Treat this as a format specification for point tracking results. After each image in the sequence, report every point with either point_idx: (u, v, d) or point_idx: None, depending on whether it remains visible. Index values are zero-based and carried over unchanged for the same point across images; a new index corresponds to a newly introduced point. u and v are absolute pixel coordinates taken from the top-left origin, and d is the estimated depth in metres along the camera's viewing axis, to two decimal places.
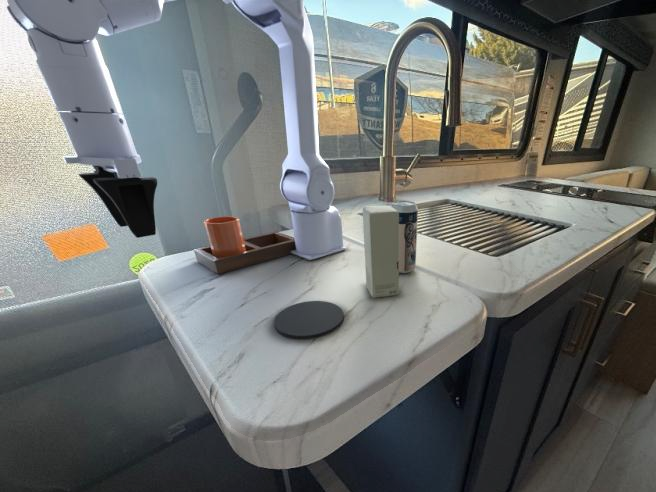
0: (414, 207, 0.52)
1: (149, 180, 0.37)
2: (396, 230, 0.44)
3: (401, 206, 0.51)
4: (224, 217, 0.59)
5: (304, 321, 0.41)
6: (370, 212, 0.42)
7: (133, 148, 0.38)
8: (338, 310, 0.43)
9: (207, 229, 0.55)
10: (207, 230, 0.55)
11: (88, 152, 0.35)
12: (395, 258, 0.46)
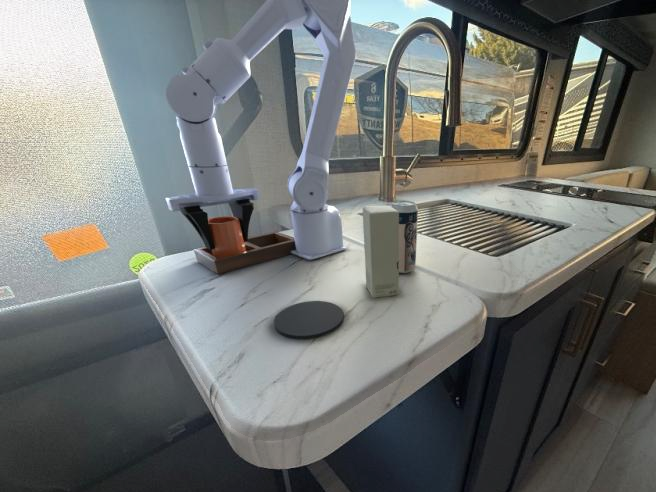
0: (414, 207, 0.52)
1: (189, 214, 0.51)
2: (396, 230, 0.44)
3: (401, 206, 0.51)
4: (224, 217, 0.59)
5: (304, 321, 0.41)
6: (370, 212, 0.42)
7: (210, 190, 0.51)
8: (338, 310, 0.43)
9: None
10: None
11: None
12: (395, 258, 0.46)
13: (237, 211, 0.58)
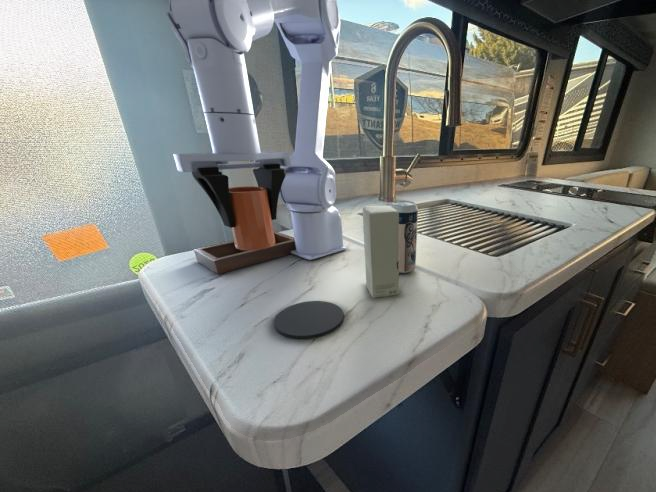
0: (414, 207, 0.52)
1: (204, 176, 0.38)
2: (396, 230, 0.44)
3: (401, 206, 0.51)
4: (247, 187, 0.46)
5: (304, 321, 0.41)
6: (370, 212, 0.42)
7: (232, 146, 0.39)
8: (338, 310, 0.43)
9: None
10: None
11: None
12: (395, 258, 0.46)
13: (264, 179, 0.45)
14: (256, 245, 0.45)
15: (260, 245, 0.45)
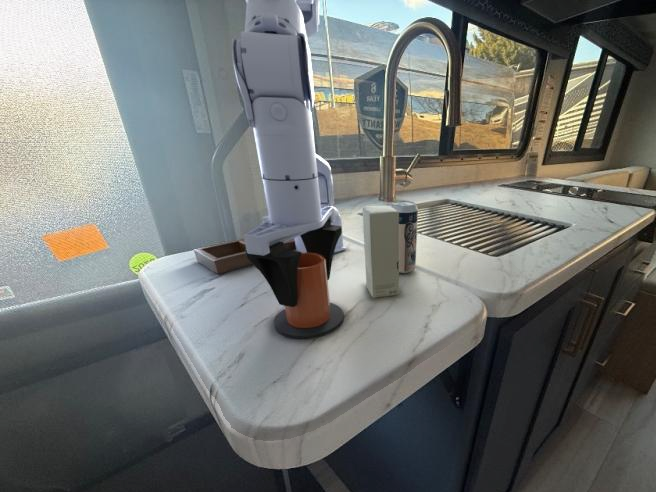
0: (414, 207, 0.52)
1: (279, 258, 0.31)
2: (396, 230, 0.44)
3: (401, 206, 0.51)
4: None
5: None
6: (370, 212, 0.42)
7: (306, 216, 0.33)
8: (338, 310, 0.43)
9: None
10: None
11: (269, 216, 0.34)
12: (395, 258, 0.46)
13: (319, 239, 0.40)
14: (321, 319, 0.40)
15: (324, 318, 0.40)
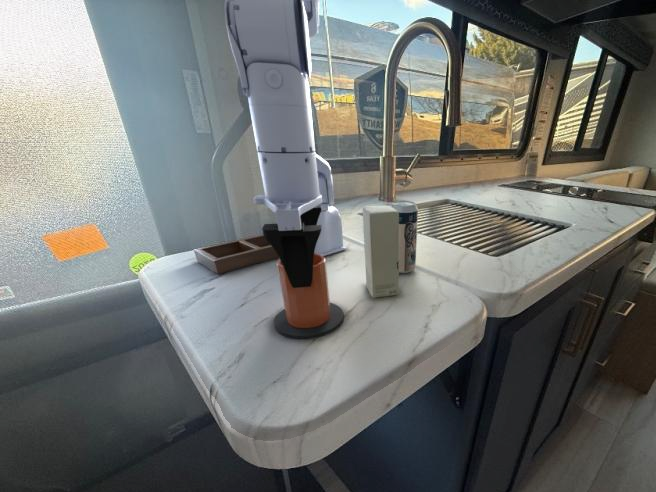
0: (414, 207, 0.52)
1: (311, 232, 0.31)
2: (396, 230, 0.44)
3: (401, 206, 0.51)
4: None
5: None
6: (370, 212, 0.42)
7: (314, 190, 0.33)
8: (338, 310, 0.43)
9: None
10: None
11: (270, 194, 0.32)
12: (395, 258, 0.46)
13: (302, 219, 0.39)
14: (321, 319, 0.40)
15: (324, 318, 0.40)
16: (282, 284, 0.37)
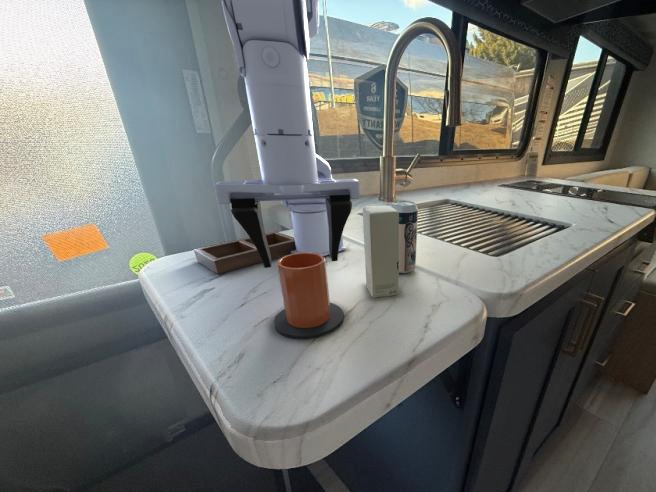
0: (414, 207, 0.52)
1: None
2: (396, 230, 0.44)
3: (401, 206, 0.51)
4: (293, 255, 0.40)
5: None
6: (370, 212, 0.42)
7: None
8: (338, 310, 0.43)
9: (290, 278, 0.36)
10: (289, 279, 0.36)
11: (311, 178, 0.32)
12: (395, 258, 0.46)
13: (260, 215, 0.35)
14: (321, 319, 0.40)
15: (324, 318, 0.40)
16: (282, 284, 0.37)
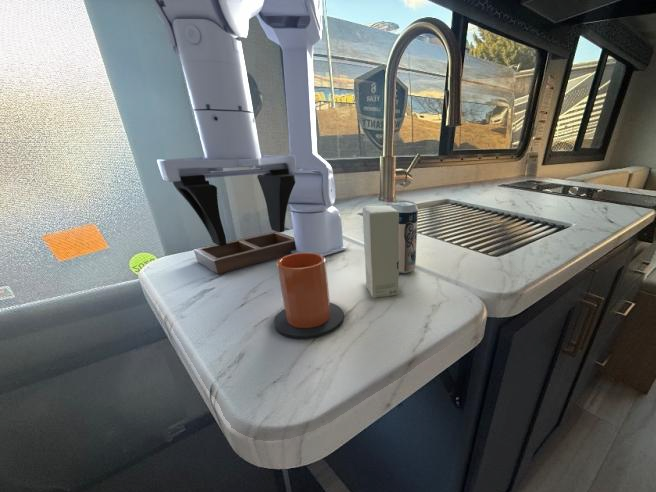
0: (414, 207, 0.52)
1: None
2: (396, 230, 0.44)
3: (401, 206, 0.51)
4: (293, 255, 0.40)
5: None
6: (370, 212, 0.42)
7: None
8: (338, 310, 0.43)
9: (290, 278, 0.36)
10: (289, 279, 0.36)
11: (259, 153, 0.35)
12: (395, 258, 0.46)
13: None
14: (321, 319, 0.40)
15: (324, 318, 0.40)
16: (282, 284, 0.37)
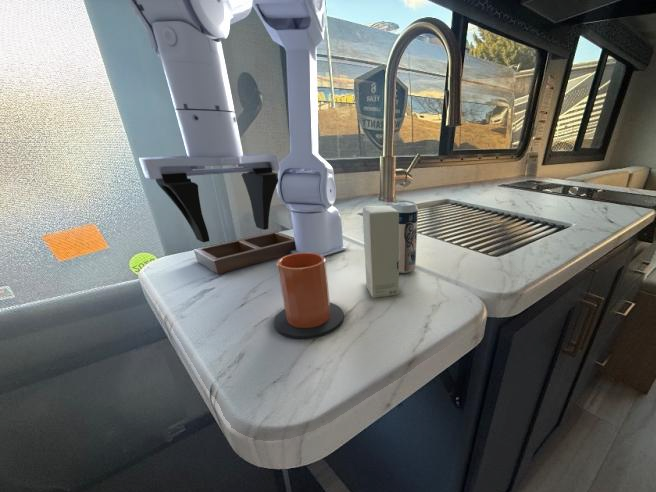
0: (414, 207, 0.52)
1: None
2: (396, 230, 0.44)
3: (401, 206, 0.51)
4: (293, 255, 0.40)
5: None
6: (370, 212, 0.42)
7: None
8: (338, 310, 0.43)
9: (290, 278, 0.36)
10: (289, 279, 0.36)
11: (241, 151, 0.36)
12: (395, 258, 0.46)
13: None
14: (321, 319, 0.40)
15: (324, 318, 0.40)
16: (282, 284, 0.37)
